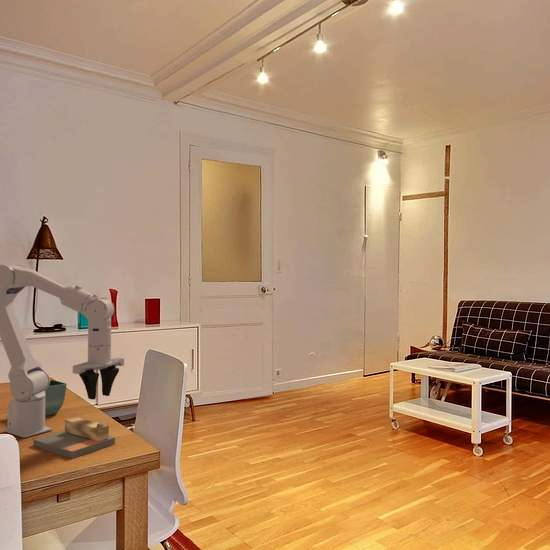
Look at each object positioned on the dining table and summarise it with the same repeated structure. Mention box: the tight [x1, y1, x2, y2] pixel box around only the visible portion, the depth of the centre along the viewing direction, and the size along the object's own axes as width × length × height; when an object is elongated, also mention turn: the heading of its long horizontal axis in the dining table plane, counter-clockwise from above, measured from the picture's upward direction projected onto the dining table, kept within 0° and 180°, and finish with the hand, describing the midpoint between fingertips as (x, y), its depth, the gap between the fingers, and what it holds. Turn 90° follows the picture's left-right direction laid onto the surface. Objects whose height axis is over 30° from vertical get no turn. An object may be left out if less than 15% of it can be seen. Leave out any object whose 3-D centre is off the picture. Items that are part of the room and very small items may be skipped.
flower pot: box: [45, 379, 68, 417], centre depth 149 cm, size 9×9×9 cm
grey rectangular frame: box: [32, 429, 116, 460], centre depth 123 cm, size 15×12×2 cm
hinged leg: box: [64, 416, 110, 441], centre depth 125 cm, size 13×3×4 cm, turn 57°
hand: (99, 397), depth 131 cm, fingers open, 4 cm apart
